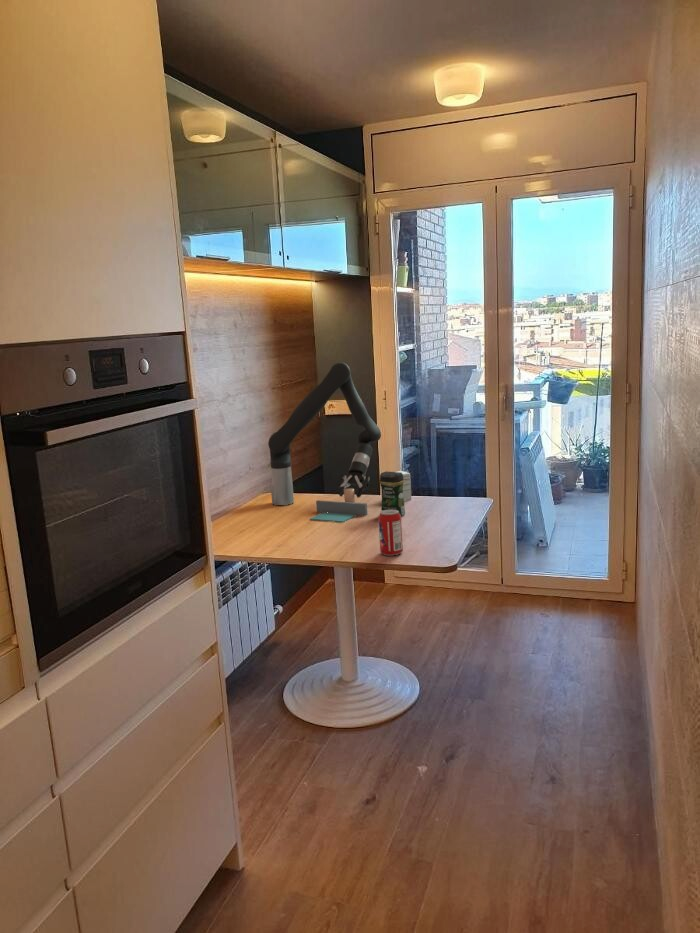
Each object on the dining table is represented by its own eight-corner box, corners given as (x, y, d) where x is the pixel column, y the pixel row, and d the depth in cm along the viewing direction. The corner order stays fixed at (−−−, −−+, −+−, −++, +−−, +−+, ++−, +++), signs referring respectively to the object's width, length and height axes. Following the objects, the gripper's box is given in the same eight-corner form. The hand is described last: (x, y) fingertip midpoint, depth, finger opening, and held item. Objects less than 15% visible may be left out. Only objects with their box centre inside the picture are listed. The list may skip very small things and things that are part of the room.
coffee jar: (378, 516, 304) (375, 473, 300) (388, 512, 310) (386, 469, 307) (398, 519, 298) (396, 474, 295) (408, 514, 304) (406, 470, 301)
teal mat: (309, 520, 306) (309, 518, 306) (323, 513, 315) (323, 512, 315) (343, 522, 298) (343, 521, 298) (356, 515, 308) (356, 514, 307)
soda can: (399, 557, 248) (396, 514, 246) (377, 556, 251) (374, 514, 249) (405, 550, 256) (403, 509, 253) (384, 549, 258) (382, 508, 256)
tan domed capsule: (343, 510, 318) (342, 490, 317) (346, 508, 322) (345, 488, 321) (353, 510, 317) (352, 490, 315) (356, 508, 321) (355, 488, 319)
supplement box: (389, 500, 332) (387, 472, 330) (403, 497, 335) (401, 470, 333) (398, 503, 326) (396, 475, 323) (412, 500, 329) (410, 472, 327)
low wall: (316, 512, 318) (316, 501, 317) (318, 511, 320) (317, 500, 319) (365, 515, 307) (365, 504, 306) (367, 514, 308) (366, 503, 307)
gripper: (342, 460, 327) (331, 490, 319) (370, 460, 320) (360, 492, 312) (348, 469, 332) (338, 499, 324) (377, 470, 325) (366, 501, 317)
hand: (349, 496), depth 318 cm, fingers open, 8 cm apart
